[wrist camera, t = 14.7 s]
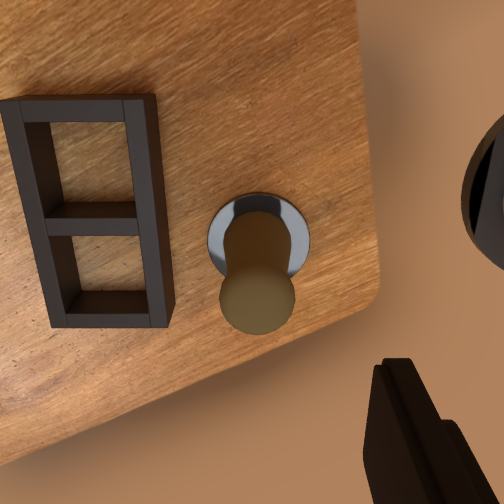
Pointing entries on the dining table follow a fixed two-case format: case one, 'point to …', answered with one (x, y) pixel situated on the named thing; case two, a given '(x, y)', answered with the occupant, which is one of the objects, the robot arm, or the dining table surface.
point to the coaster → (263, 204)
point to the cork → (257, 274)
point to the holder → (92, 209)
